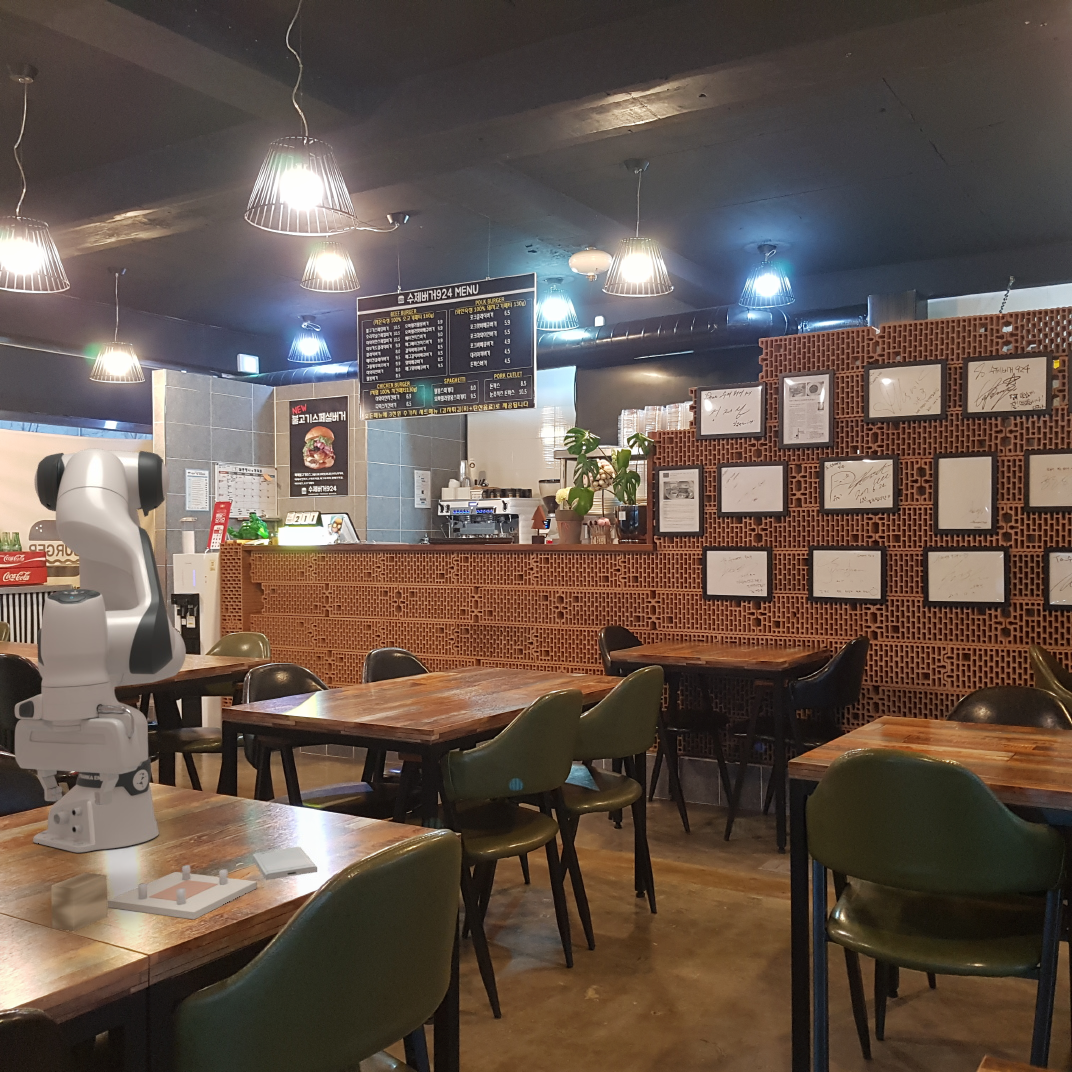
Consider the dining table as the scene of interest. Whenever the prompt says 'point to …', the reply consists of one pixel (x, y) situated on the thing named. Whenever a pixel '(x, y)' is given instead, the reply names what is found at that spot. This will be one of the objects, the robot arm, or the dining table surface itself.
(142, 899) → the pin base
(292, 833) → the dining table surface
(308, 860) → the hard drive
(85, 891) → the maple block
